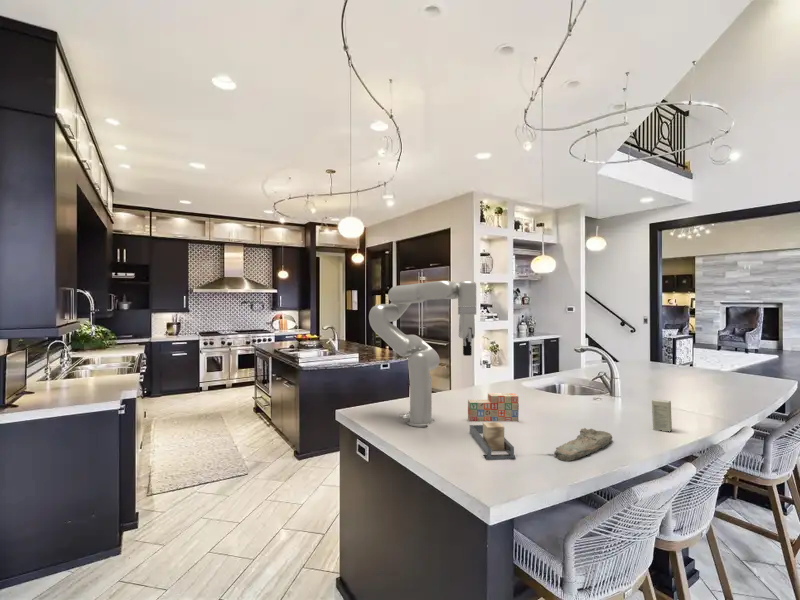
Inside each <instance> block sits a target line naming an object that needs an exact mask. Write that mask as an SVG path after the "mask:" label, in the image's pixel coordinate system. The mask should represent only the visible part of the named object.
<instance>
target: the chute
mask: <svg viewBox="0 0 800 600" xmlns="http://www.w3.org/2000/svg"><path fill="white" fill-rule="evenodd" d="M469 434H470V435H471V437H472V438H473V439H474V440H475V442H476V443H477V445H478V446H479V447H480V449H482V451H483V452H484V454H482V456H483V458H485V460H486V461H487V460H488V461H489V460H492V461H493V460H494V461H495V460H516V455H515V447H514V446H513V444H511V442H510V441H509V440H508V439H507V438H506V437H504V451H506V453H505V454H504V453H503V454H499V453H497V454H492V450H491V447H490V446H489V444H488V443H487V442H486V441H485V440H484V438H483V435H482V434H483V424H471V425H469Z"/></svg>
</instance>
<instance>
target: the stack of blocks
mask: <svg viewBox="0 0 800 600" xmlns="http://www.w3.org/2000/svg"><path fill="white" fill-rule="evenodd" d="M519 405H520V404H519V395H517V394H516V393H512V392H511V393H509V392H487V399H467V420H468V422H517V423H519V410H520V408H519Z"/></svg>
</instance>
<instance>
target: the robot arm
mask: <svg viewBox="0 0 800 600" xmlns="http://www.w3.org/2000/svg"><path fill="white" fill-rule="evenodd" d="M387 297H388V299H389V301H390V303H379V304H377V305H374V306H372V307H371V309H370V311H369V314H368V320H369V325H370V327H371V329H372V331H374V333H375V334H376V335H378V337H380V338H381V339H382V340H383V341H384V342H385V343H386V344H387V345H388V346H389V347H390V348H391V349H392V350H393V351H394V352H395V353H396V354H397V355H399V356H401V357H408V359H407V360H408V361H407V365H408V366H407V368H408V374H409V411H408V412H407V413H399V419H402V420H406V424H407V425H409V426H410V427H411V426H412V427H417V428H418V427H419V428H427V427H429V426H428V425H433V424H434V423H436V420H435V419H434V418H433V417H432V416H433V415H432V414H433V413H432V411H433V410H432V409H433V408H432V405H433V404H432V403H433V400H432V399H433V398H432V397H433V395H432V393H433V392H432V388H433V387H432V377H431V373H430V371H432V370H436V369H437V368H438V366H439V365H440V360H441V359H440V356H439V354H438V353H437V351H436V350H435V349H434V348H433V347H431V346H430V345H429V344H428V343H427V342H426V341H425V340H424V339H422V338H421V337H420V336H418V335H416V334H406V333H404V332H403V331H401V329H399V328H398V327H397V326H396V325H394V324H392V323H393V322H396V321H397V320H399V319H400V318H401V316H403V314H404V313H405V312H407V309H408V308H410V306H411V304H421V303H424V302H425V301H432V300H434V301H435V300H457V315H459V318H458V338H460V339H462V355H463V356H468V357H469V356H470V357H471V356H472V353H473V352H472V351H473V350H472V347H473V346H472V345H473V344H472V343H473V339H475V337H476V336H475V335H476V327H475V326H476V323H475V321H476V319H475V315H477V283H476V282H475V281H473V280H470V281H469V280H468V281H467V280H465V281H459V282H458V281H452V280H451V281H450V280H437V281H429V282H421V283H412V284H411V283H410V284H401V285H396V286H392V287H391V288H390V289H389V290H388V293H387ZM391 322H392V323H391Z"/></svg>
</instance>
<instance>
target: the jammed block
mask: <svg viewBox="0 0 800 600" xmlns="http://www.w3.org/2000/svg"><path fill="white" fill-rule="evenodd" d="M482 425H483V433H482V437H483V438H484V440H485V441H486V442H487V443H488V444H489V446H490V447H491V451H505V449H504V438H505V426H504V425H503V424H502V423H501V422H500V421H485V422H482Z"/></svg>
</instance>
